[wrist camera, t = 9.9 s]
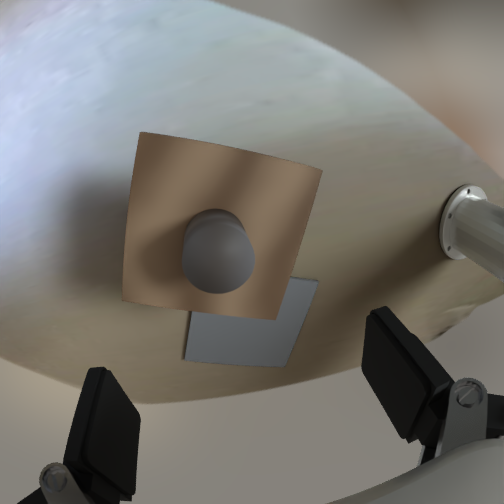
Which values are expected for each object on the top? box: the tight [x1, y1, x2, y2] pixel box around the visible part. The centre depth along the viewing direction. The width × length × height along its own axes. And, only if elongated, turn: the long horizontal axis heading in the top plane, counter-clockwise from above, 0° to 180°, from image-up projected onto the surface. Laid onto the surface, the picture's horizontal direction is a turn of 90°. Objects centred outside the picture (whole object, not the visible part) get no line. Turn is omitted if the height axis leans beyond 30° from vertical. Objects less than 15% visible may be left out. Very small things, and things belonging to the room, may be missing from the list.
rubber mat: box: [185, 277, 319, 367], centre depth 39 cm, size 15×15×1 cm
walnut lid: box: [122, 132, 322, 320], centre depth 20 cm, size 13×13×5 cm
